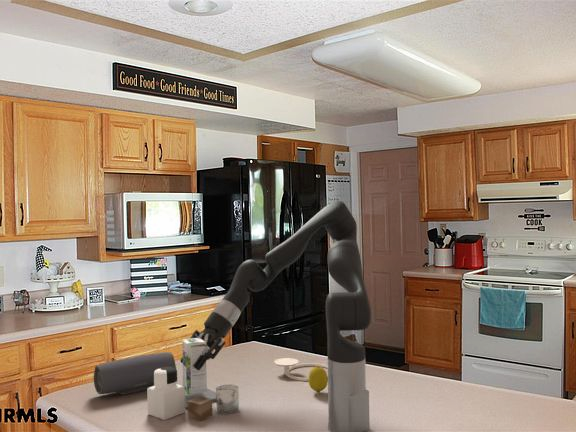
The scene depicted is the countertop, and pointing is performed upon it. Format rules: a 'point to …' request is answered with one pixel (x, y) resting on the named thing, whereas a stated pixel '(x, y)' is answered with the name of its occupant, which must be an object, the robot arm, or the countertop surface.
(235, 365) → the countertop surface
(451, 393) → the countertop surface
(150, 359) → the bluetooth speaker
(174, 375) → the medicine bottle
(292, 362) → the hand towel holder
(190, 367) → the syrup box
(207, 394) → the plate
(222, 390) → the brushed tin
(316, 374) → the lemon
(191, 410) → the walnut block
